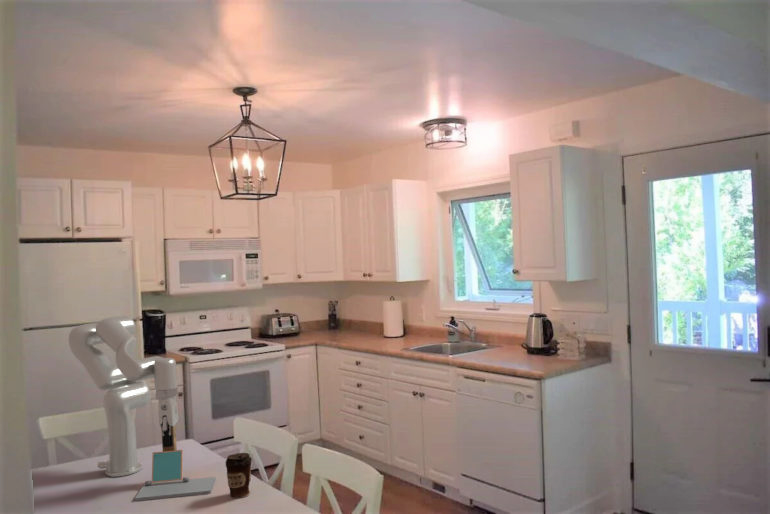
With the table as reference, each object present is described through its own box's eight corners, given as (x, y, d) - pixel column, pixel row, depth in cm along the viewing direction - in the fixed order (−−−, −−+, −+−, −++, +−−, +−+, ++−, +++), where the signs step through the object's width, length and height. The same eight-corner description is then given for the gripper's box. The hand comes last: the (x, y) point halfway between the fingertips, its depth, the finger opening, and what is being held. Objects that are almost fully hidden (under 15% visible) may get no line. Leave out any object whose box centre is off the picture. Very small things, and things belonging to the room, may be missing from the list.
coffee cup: (246, 500, 197) (244, 460, 197) (222, 500, 199) (220, 459, 199) (257, 490, 206) (255, 451, 206) (234, 489, 208) (232, 451, 207)
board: (135, 501, 202) (134, 493, 202) (144, 486, 215) (144, 479, 214) (210, 493, 205) (210, 486, 205) (215, 479, 218) (215, 472, 218)
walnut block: (163, 457, 217) (161, 423, 217) (165, 453, 221) (163, 420, 221) (174, 456, 218) (172, 422, 218) (176, 452, 222) (174, 419, 222)
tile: (152, 452, 216) (153, 452, 217) (151, 482, 212) (152, 482, 213) (182, 449, 217) (182, 449, 218) (181, 479, 214) (182, 479, 215)
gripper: (172, 397, 212) (175, 450, 212) (181, 387, 228) (184, 436, 228) (150, 399, 210) (153, 453, 211) (160, 389, 227) (163, 438, 227)
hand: (169, 444), depth 219 cm, fingers closed on walnut block, 4 cm apart
